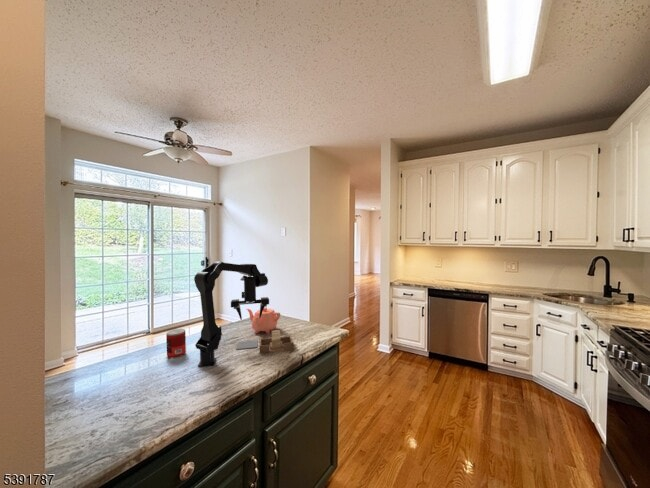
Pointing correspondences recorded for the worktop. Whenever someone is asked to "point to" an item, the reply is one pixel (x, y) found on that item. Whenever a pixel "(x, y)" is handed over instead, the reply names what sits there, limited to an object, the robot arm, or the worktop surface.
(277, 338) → the maple block
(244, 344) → the rubber mat
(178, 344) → the canned food
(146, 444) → the worktop surface
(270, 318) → the teapot
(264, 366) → the worktop surface
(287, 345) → the box
